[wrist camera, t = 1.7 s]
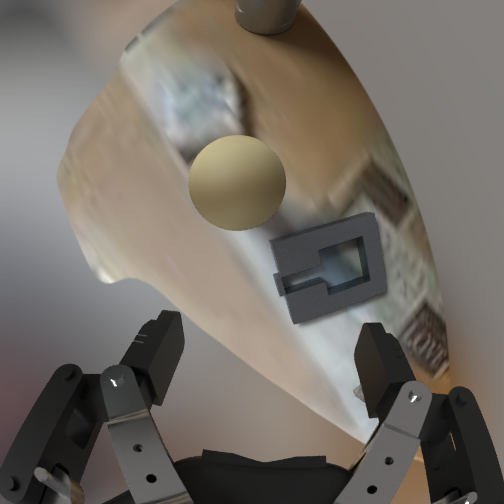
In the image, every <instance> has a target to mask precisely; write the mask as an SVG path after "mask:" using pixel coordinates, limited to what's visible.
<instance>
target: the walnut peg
mask: <svg viewBox="0 0 504 504" xmlns="http://www.w3.org/2000/svg"><path fill="white" fill-rule="evenodd" d="M285 189H286V176H285V171H284V168H283V165H282V163H281V161H280V159H279V157H278V156H277V155H276V153H275V152H274V151H273V150H272V149H271V148H270V147H269V146H268V145H266V144H265V143H263V142H262V141H260V140H258V139H255V138H252V137H249V136H243V135H233V136H227V137H223V138H220V139H217V140H215V141H214V142H212V143H210V144H209V145H207V146H206V147H205V148H204V149H203V150H202V151H201V152H200V153H199V154H198V156H197V157H196V159H195V161H194V163H193V165H192V167H191V170H190V175H189V192H190V196H191V199H192V202H193V204H194V206H195V208H196V209H197V211H198V212H199V213H200V214H201V216H202V217H203V218H204V219H206V220H207V221H208V222H210V223H211V224H213V225H215V226H217V227H219V228H222V229H226V230H232V231H242V230H248V229H252V228H255V227H257V226H259V225H261V224H263V223H264V222H266V221H267V220H268V219H270V218H271V217H272V216H273V215H274V213H275V212H276V211H277V210H278V208H279V206H280V205H281V203H282V200H283V198H284V194H285Z"/></svg>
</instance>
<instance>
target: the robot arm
mask: <svg viewBox="0 0 504 504" xmlns="http://www.w3.org/2000/svg"><path fill="white" fill-rule="evenodd" d="M301 1H302V0H235V18H236V20H237V22H238V23H239V24H240V25H241V26H242V27H243V28H245V29H247V30H248V31H251V32H254V33H258V34H266V35H270V34H278V33H281V32H284V31H286V30H288V29H289V28H290V27H291V26H292V24H293V22H294V20H295V17H296V14H297V11H298V9H299V6H300V3H301ZM184 341H185V340H184V332H183V326H182V319H181V314H180V312H177V311H168V310H162V312H161V313H160V315H159V316H158V318H157V320H150V321H148V322H147V323H146V324H144V325H143V326H142V328H141V329H140V331H139V332H138V335H136V337H135V339H134V342H132V344H131V345H130V347H129V348H128V350H127V352H126V353H125V355H124V356H123V358H122V360H121V361H120V363H119V364H117V365H112V366H110V367H108V368H106V369H105V370H104V371H103V372H102V374H83V373H82V371H81V369H80V367H79V366H77V365H75V364H65V365H62V366H61V367H59V368H58V369H57V370H56V371H55V372H54V374H53V375H52V377H51V379H50V380H49V382H48V383H47V385H46V386H45V388H44V389H43V391H42V393H41V394H40V396H39V397H38V399H37V401H36V403H35V404H34V406H33V407H32V409H31V411H30V413H29V414H28V416H27V418H26V420H25V421H24V423H23V425H22V427H21V428H20V431H19V432H18V434H17V436H16V438H15V440H14V442H13V444H12V446H11V448H10V450H9V452H8V454H7V456H6V458H5V460H4V462H3V464H2V466H1V469H0V493H1V495H2V496H3V497H4V498H5V499H7V500H8V501H10V502H12V503H14V504H84V503H85V493H84V490H83V488H82V486H81V485H80V481H81V478H82V475H83V473H84V470H85V467H86V464H87V462H88V459H89V457H90V454H91V452H92V449H93V447H94V444H95V441H96V439H97V437H98V434H99V432H100V429H101V427H102V425H103V422H107V427H108V431H109V434H110V437H111V441H112V444H113V447H114V450H115V453H116V456H117V459H118V462H119V464H120V467H121V470H122V472H123V475H124V478H125V480H126V483H127V485H128V487H129V490H127V491H126V492H124V493H122V494H120V495H118V496H116V497H114V498H112V499H110V500H108V501H106V502H104V503H102V504H390V503H391V501H392V499H393V497H394V496H395V494H396V492H397V490H398V489H399V487H400V485H401V483H402V481H403V479H404V477H405V475H406V473H407V471H408V469H409V467H410V465H411V463H412V461H413V458H414V456H415V454H416V452H417V449H418V447H419V445H421V450H422V454H423V459H424V464H425V469H426V475H427V480H428V487H429V493H430V500H431V504H504V480H503V476H502V473H501V469H500V465H499V462H498V458H497V455H496V452H495V449H494V446H493V443H492V440H491V437H490V434H489V432H488V429H487V426H486V423H485V421H484V418H483V416H482V414H481V411H480V409H479V407H478V404H477V402H476V399H475V397H474V395H473V393H472V392H471V391H470V390H469V389H467V388H464V387H461V386H459V387H455V388H453V389H452V390H451V391H450V392H449V394H448V395H444V394H435V393H431V391H430V389H429V388H428V386H426V385H425V384H424V383H422V382H419V381H416V379H415V376H414V374H413V372H412V370H411V367H410V365H409V363H408V361H407V358H406V357H405V354H404V352H403V351H402V348H401V346H400V344H399V342H398V340H397V339H396V338H395V337H394V336H393V335H392V334H391V333H386V332H385V329H384V327H383V325H382V324H381V323H380V322H379V323H364V324H363V326H362V329H361V332H360V335H359V338H358V342H357V345H356V348H355V352H354V360H355V364H356V368H357V372H358V375H359V379H360V383H361V387H362V391H363V395H364V399H365V403H366V407H367V412H368V416H369V418H377V417H378V419H379V423H378V425H377V426H376V428H375V430H374V431H373V433H372V435H371V437H370V438H369V440H368V441H367V443H366V445H365V446H364V448H363V450H362V451H361V452H360V454H359V456H358V457H357V458H356V460H355V461H354V462H353V464H352V465H351V466H350V467H349V469H348V470H347V469H345V468H343V467H341V466H338V465H335V464H331V463H326V456H305V457H293V458H288V459H283V460H277V461H272V462H260V461H256V460H253V459H249V458H246V457H243V456H240V455H237V454H233V453H226V452H218V451H210V450H204V449H203V453H202V456H195V457H189V458H185V459H182V460H179V461H176V462H174V461H173V459H172V457H171V455H170V453H169V451H168V449H167V448H166V446H165V444H164V442H163V439H162V437H161V435H160V433H159V431H158V429H157V426H156V424H155V422H154V420H153V417H152V415H151V413H150V409H151V407H152V404H154V405H159V406H161V405H162V403H163V400H164V398H165V395H166V393H167V390H168V387H169V385H170V382H171V380H172V377H173V375H174V372H175V370H176V367H177V365H178V362H179V360H180V357H181V355H182V352H183V350H184V343H185V342H184ZM450 434H452V436H453V440H454V444H455V447H456V451H455V449H454V445H453V442H452V438H451V435H450Z"/></svg>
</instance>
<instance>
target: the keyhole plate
mask: <svg viewBox="0 0 504 504" xmlns="http://www.w3.org/2000/svg"><path fill="white" fill-rule="evenodd" d="M354 238H356V241H357V246H358V251H359V256H360V261H361V267H362V273H363V276H362V277H359V278H356V279H353V280H351V281H348V282H345V283H342V284H339V285H336V286H334V287H331V288H328V289H327V286H326V282H325V281H324V280H323V279H322V278H321V277H318V278H315V279H312V280H309V281H306V282H303V283H299V284H296V285H293V286H290V287H287V288H284V286H283V282H282V279H281V278H282V277H285V276H288V275H291V274H295V273H298V272H301V271H304V270H307V269H310V268H314V267H317V266H320V265H322V264H321V259H320V255H319V251H318V250H319V249H322V248H326V247H329V246H332V245H335V244H338V243H341V242H345V241H348V240H351V239H354ZM269 241H270V245H271V249H272V252H273V256H274V259H275V263H276V266H277V270H278V273H275V274H273V276H274V280H275V283H276V287H277V290H278V292H279V295H280V296H283V295H285V299H286V303H287V306H288V310H289V314H290V317H291V319H292V322H293V324H297V323H301V322H304V321H307V320H310V319H313V318H316V317H319V316H322V315H325V314H327V313H330V312H333V311H336V310H339V309H341V308H344V307H347V306H350V305H352V304H355V303H358V302H360V301H363V300H365V299H368V298H371V297H373V296H376V295H378V294H381V293H383V292H386V291H387V285H386V277H385V270H384V263H383V257H382V251H381V245H380V239H379V234H378V228H377V223H376V218H375V214H374V213H371V212H364V213H361V214H358V215H354V216H351V217H347V218H344V219H340V220H337V221H334V222H330V223H327V224H323V225H320V226H317V227H313V228H310V229H306V230H303V231H300V232H296V233H293V234H290V235H286V236H283V237H279V238H276V239H273V240H269Z"/></svg>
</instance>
